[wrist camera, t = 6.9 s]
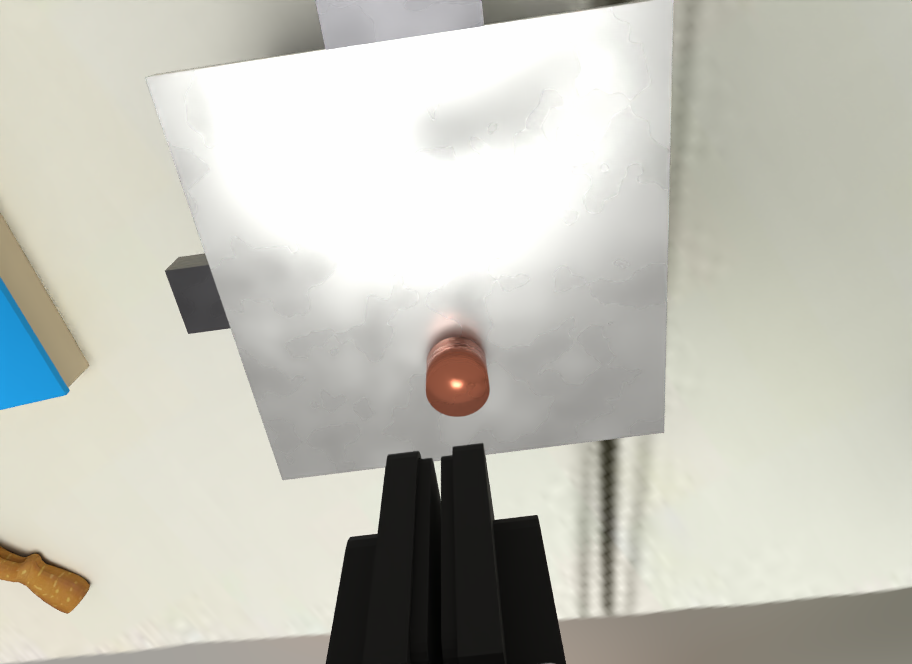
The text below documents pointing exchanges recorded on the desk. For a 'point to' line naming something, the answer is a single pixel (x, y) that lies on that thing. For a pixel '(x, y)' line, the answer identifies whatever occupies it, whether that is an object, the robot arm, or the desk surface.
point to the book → (31, 333)
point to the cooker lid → (439, 226)
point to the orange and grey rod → (44, 580)
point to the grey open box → (196, 294)
